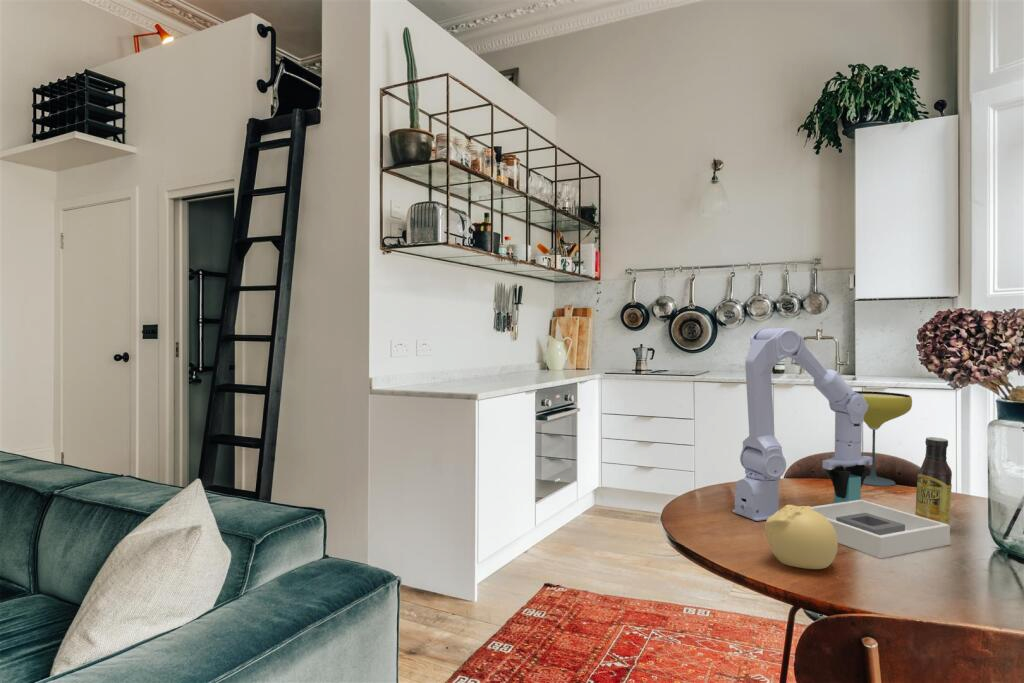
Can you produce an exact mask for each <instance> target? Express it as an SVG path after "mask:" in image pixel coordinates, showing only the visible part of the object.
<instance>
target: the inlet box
mask: <svg viewBox="0 0 1024 683" xmlns="http://www.w3.org/2000/svg"><path fill="white" fill-rule="evenodd" d="M810 507H811V509H812V510H814V511H816V512H818V513H820V514H822V515H823V516H824V517H826V518H827V519H828V520H829V521H830V523H831V524H832V525H833V527H834V529H835V531H836V534H837V539H838V544H841V545H843V546H845V547H849V548H852V549H854V550H856V551H860V552H863V553H865V554H868V555H871V556H873V557H876V558H878V559H886V558H889V557H896V556H901V555H906V554H911V553H915V552H920V551H926V550H930V549H934V548H939V547H946V546H950V544H951V524H949V525H948V524H945V523H941V522H938V521H934V520H931V519H927V518H924V517H920V516H917V515H915V514H913V513H911V512H905V511H902V510H899V509H896V508H891V507H889V506H886V505H882V504H877V503H874V502H871V501H868V500H864V499H861V500H854V501H848V502H841V503H834V502H833V503H828V504H823V505H822V504H821V505H815V506H810Z"/></svg>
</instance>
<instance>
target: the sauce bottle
mask: <svg viewBox="0 0 1024 683" xmlns="http://www.w3.org/2000/svg"><path fill="white" fill-rule="evenodd" d="M924 443H925V457H924V459H923V461H922V464H921V466H920V469H919V471H918V473H917V480H916V481H917V482H916V497H915V514H914V515H917V516H920V517H924V518H927V519H931V520H934V521H938V522H941V523H945V524H948V525H950V520H951V519H950V518H951V508H952V507H951V506H952V486H953V484H952V474H953V472H952V469H951V467H950V465H949V463H948V461H947V449H948V446H949V440H948V439H945V438H941V437H935V436H934V437H933V436H928V437H926V438H925V442H924Z"/></svg>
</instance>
